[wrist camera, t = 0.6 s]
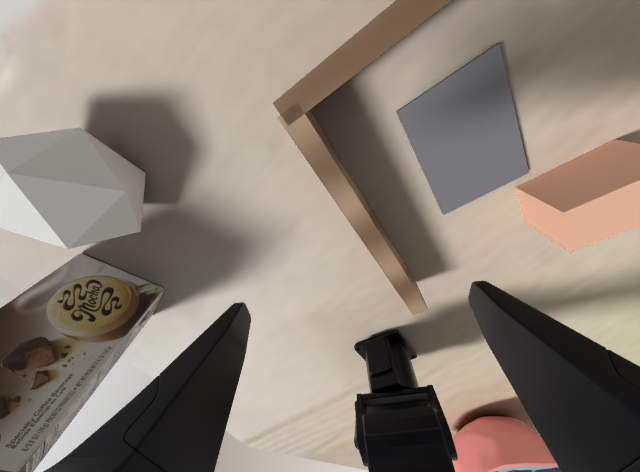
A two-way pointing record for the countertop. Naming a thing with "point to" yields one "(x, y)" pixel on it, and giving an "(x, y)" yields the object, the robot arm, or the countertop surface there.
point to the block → (586, 196)
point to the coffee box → (63, 351)
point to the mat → (467, 132)
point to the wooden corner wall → (295, 115)
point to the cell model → (501, 447)
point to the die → (68, 189)
